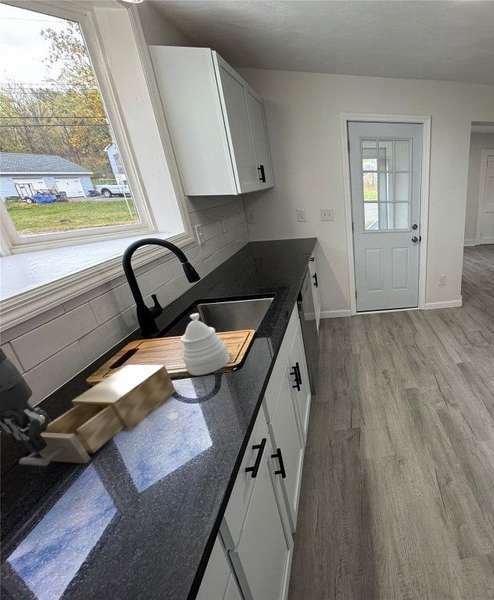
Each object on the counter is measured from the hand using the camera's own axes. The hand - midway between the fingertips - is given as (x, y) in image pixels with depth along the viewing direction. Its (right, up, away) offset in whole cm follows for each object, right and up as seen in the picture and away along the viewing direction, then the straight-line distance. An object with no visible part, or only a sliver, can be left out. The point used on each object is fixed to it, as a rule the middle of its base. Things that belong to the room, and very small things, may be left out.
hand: (39, 449), depth 68 cm
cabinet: (+3, +1, +21) cm, 21 cm away
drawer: (+2, -3, +9) cm, 9 cm away
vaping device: (-14, -4, +13) cm, 20 cm away
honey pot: (+13, +10, +40) cm, 43 cm away
